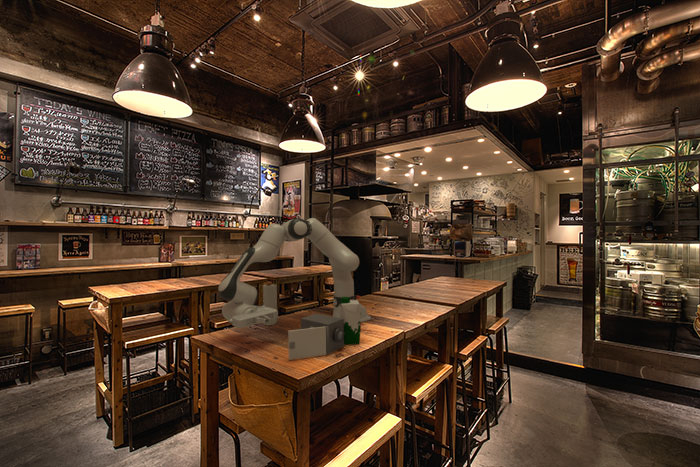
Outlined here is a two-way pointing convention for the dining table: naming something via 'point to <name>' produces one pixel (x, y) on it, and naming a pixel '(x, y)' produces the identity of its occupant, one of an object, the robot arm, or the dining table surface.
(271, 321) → the paper towel roll
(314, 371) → the dining table surface
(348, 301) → the milk carton
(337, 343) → the box
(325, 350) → the side door
